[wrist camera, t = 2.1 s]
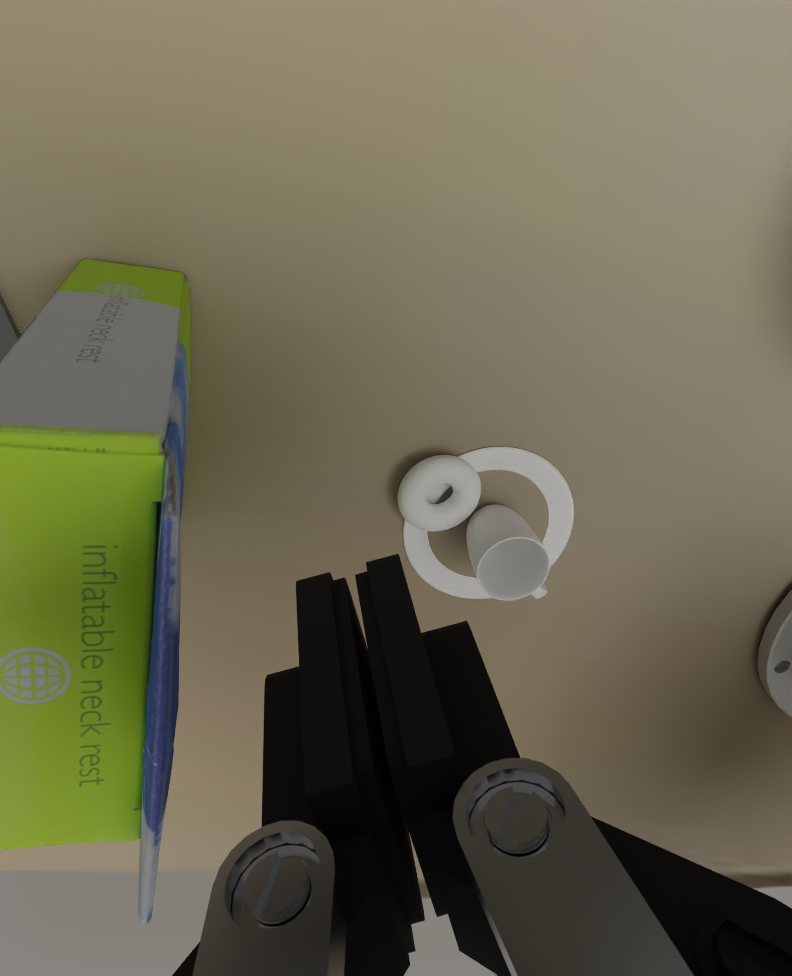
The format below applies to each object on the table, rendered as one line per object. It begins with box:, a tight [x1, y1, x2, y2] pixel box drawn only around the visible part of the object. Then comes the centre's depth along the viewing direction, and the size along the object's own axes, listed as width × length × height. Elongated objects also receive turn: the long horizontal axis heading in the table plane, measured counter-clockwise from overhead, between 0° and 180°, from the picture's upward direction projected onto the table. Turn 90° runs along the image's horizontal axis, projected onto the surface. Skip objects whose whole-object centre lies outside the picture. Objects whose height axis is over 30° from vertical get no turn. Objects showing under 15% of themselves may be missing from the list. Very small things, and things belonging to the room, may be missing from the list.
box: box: [0, 259, 191, 924], centre depth 19 cm, size 10×4×17 cm, turn 170°
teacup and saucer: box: [397, 447, 574, 601], centre depth 30 cm, size 9×8×4 cm
